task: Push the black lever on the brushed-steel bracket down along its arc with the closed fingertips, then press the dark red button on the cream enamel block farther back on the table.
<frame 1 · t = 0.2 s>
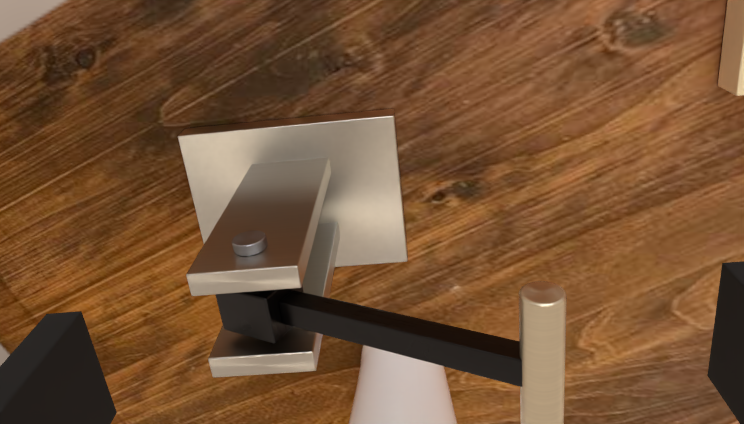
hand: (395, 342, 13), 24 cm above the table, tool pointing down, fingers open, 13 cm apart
bracket: (300, 191, 38), on the table
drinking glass: (401, 348, 43), on the table
lever: (377, 328, 24), point 15 cm above the table, hinge at 28.0°
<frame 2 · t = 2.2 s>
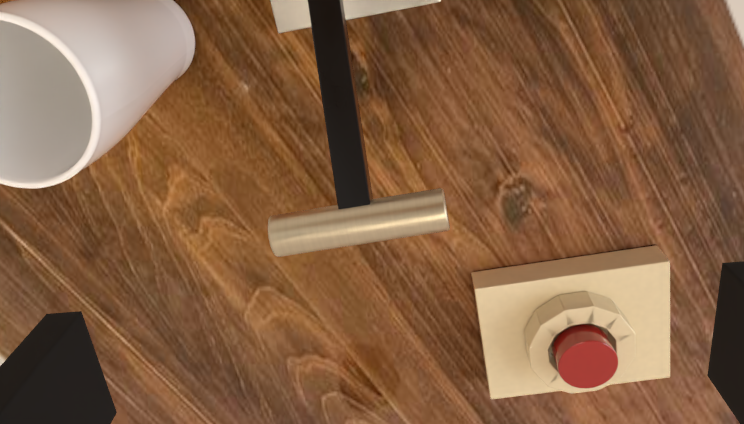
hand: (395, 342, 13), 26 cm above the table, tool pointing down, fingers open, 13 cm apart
button: (584, 356, 40), point 4 cm above the table, slide at 0.1 cm
button block: (567, 315, 44), on the table
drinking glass: (153, 35, 37), on the table
lever: (331, 42, 22), point 15 cm above the table, hinge at 28.0°
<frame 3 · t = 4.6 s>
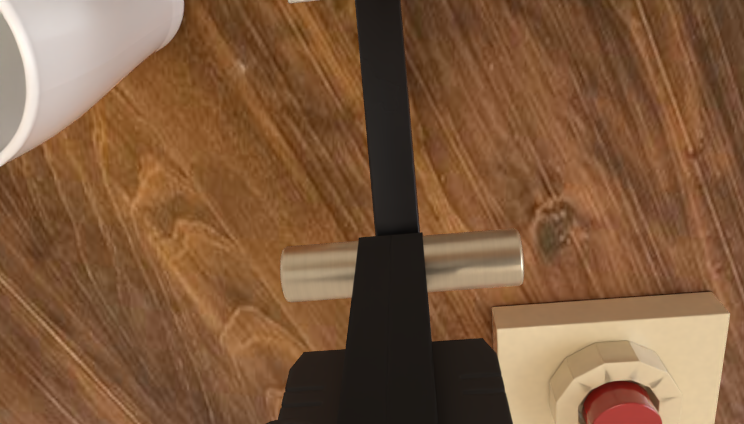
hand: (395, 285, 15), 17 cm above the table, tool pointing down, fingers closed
button: (621, 418, 33), point 4 cm above the table, slide at 0.1 cm
button block: (597, 364, 37), on the table
lever: (379, 15, 16), point 14 cm above the table, hinge at 21.9°, touching gripper
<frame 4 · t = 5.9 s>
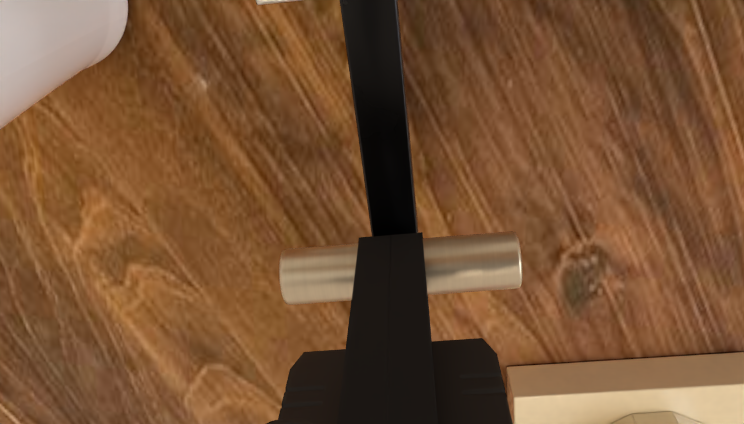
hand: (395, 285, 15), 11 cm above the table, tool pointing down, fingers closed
lever: (372, 21, 13), point 11 cm above the table, hinge at -7.8°, touching gripper
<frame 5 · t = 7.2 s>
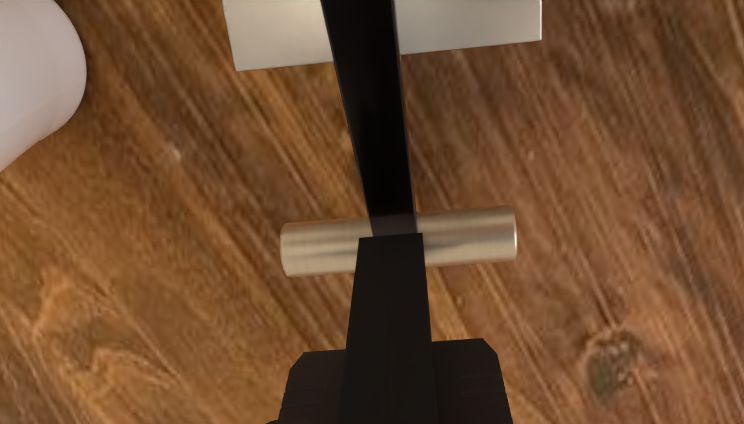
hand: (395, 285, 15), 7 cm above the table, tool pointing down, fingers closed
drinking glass: (15, 53, 21), on the table
lever: (370, 67, 11), point 9 cm above the table, hinge at -33.2°, touching gripper
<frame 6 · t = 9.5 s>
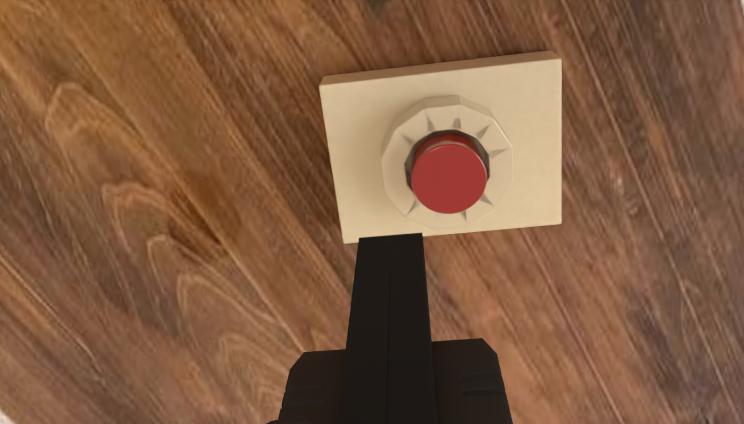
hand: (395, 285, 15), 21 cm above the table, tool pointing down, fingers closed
button: (447, 173, 31), point 4 cm above the table, slide at 0.1 cm
button block: (442, 144, 35), on the table
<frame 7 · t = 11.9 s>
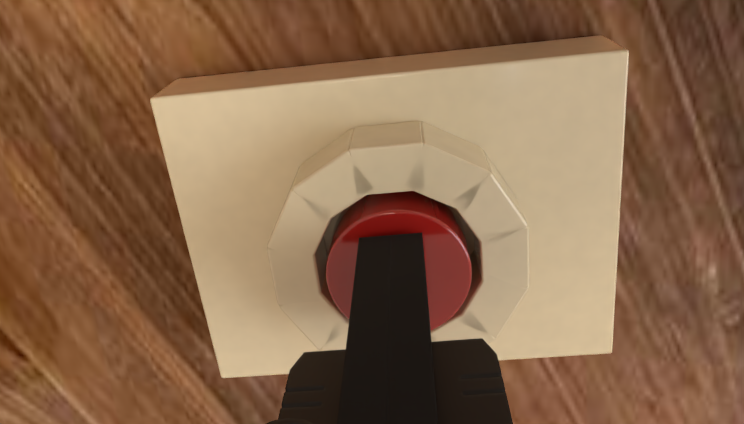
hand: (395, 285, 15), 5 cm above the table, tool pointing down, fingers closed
button: (398, 260, 16), point 4 cm above the table, slide at -0.8 cm, touching gripper
button block: (398, 203, 20), on the table
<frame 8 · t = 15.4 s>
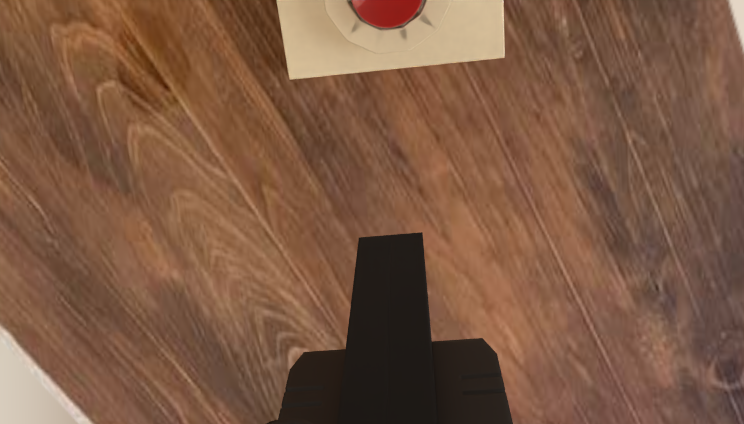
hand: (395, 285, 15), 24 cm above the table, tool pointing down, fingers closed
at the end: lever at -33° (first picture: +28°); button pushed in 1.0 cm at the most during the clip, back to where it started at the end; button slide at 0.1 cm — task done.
